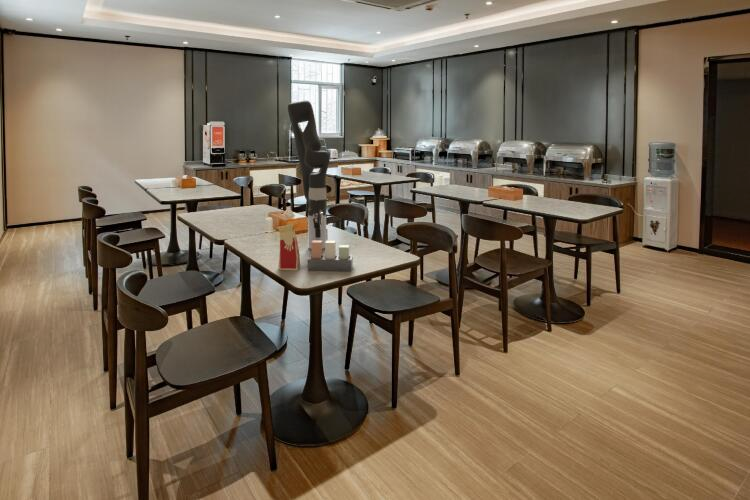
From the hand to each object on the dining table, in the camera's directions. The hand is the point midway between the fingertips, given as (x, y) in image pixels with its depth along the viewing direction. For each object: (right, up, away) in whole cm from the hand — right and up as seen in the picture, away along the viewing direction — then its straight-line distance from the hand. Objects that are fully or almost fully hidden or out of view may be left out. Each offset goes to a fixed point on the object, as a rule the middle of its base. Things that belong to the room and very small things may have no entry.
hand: (318, 237), depth 223 cm
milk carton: (-13, -14, +3) cm, 19 cm away
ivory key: (+5, -9, +2) cm, 11 cm away
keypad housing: (+5, -14, +3) cm, 15 cm away
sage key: (+11, -11, +2) cm, 16 cm away
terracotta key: (-1, -9, +2) cm, 9 cm away
